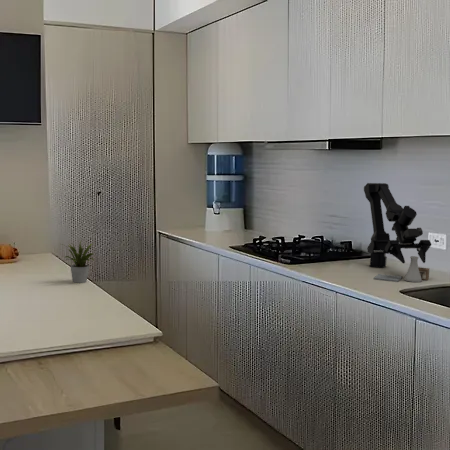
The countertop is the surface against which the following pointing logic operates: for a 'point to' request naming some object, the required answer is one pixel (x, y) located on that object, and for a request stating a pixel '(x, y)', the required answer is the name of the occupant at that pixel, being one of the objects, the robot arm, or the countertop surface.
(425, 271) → the letter cube
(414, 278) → the flask
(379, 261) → the robot arm
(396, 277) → the grey coaster
